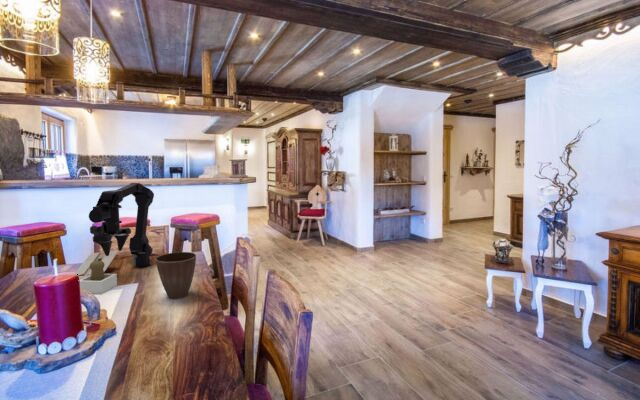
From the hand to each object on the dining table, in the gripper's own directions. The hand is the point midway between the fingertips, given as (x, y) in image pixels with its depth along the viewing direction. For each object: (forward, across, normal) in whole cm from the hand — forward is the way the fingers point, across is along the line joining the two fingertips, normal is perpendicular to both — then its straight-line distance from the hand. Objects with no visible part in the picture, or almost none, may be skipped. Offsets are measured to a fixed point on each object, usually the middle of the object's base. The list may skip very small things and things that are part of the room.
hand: (113, 253), depth 157 cm
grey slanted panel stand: (+12, -10, -15) cm, 22 cm away
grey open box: (+12, +13, +1) cm, 17 cm away
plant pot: (+12, +18, +37) cm, 43 cm away
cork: (+11, +12, +1) cm, 17 cm away
